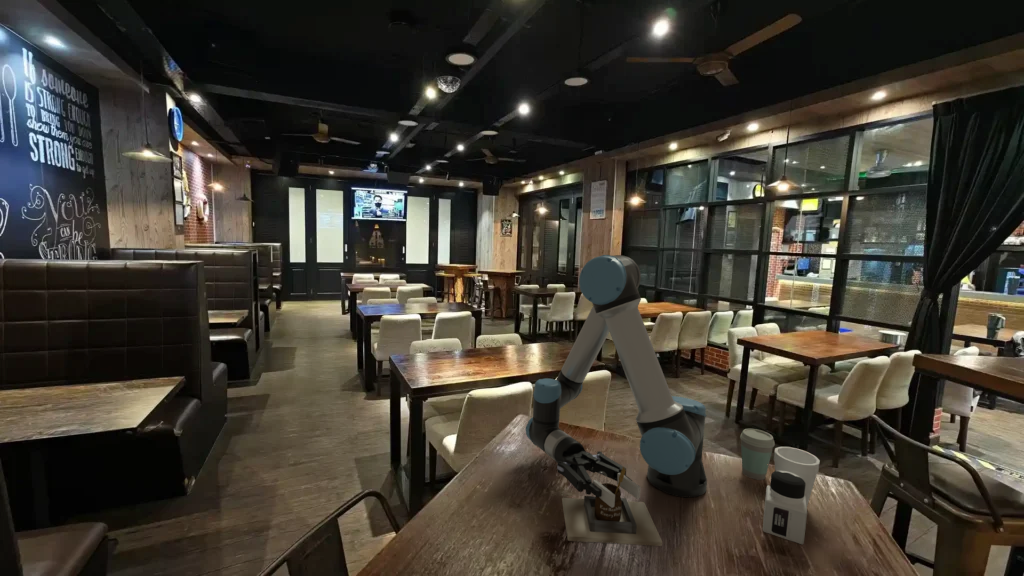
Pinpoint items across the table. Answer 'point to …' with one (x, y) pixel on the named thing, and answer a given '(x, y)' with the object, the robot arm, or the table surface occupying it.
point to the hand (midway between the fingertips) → (626, 497)
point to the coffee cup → (756, 452)
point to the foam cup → (798, 465)
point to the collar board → (609, 523)
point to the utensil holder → (602, 508)
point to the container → (785, 507)
